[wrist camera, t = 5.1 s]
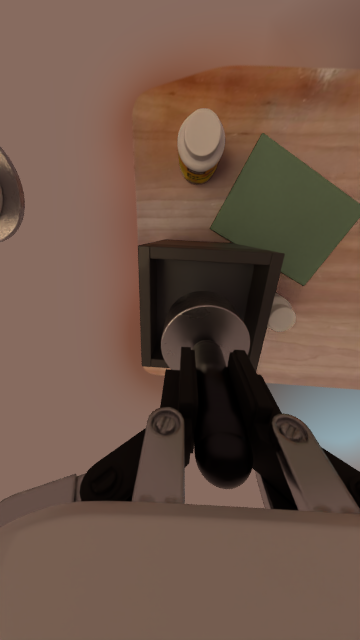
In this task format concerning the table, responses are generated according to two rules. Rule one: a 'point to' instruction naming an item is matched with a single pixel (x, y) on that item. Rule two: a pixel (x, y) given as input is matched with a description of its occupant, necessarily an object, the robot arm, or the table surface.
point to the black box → (205, 286)
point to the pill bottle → (281, 314)
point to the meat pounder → (212, 382)
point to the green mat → (286, 210)
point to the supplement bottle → (200, 145)
